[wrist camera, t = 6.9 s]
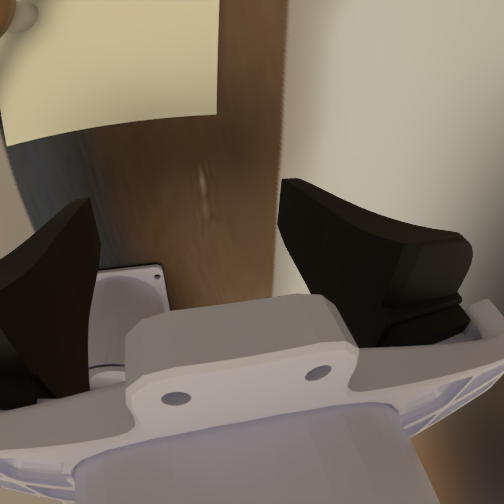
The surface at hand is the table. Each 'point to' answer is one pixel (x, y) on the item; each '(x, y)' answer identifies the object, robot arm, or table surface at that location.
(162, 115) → the cream shape sorter
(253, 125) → the table surface
